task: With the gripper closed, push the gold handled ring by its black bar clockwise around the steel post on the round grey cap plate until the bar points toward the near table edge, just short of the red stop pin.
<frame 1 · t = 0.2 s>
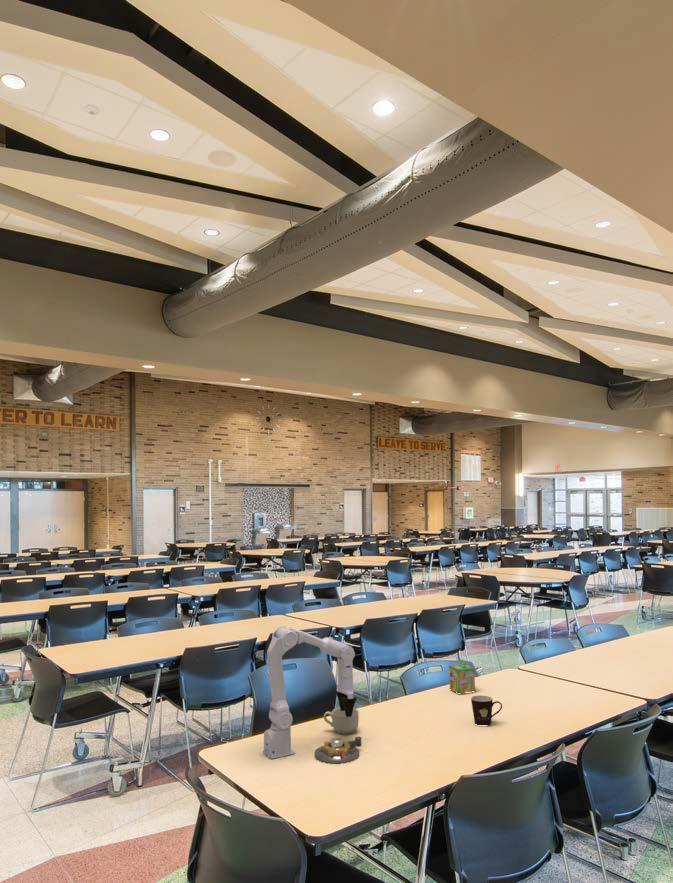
hand: (346, 713, 247), 10 cm above the table, tool pointing down, fingers open, 7 cm apart
teacup: (341, 732, 257), on the table
gold handled ring: (343, 745, 233), point 3 cm above the table, hinge at 0.0°
cap plate: (336, 755, 232), on the table
coffee mug: (486, 725, 261), on the table
green patterned box: (462, 692, 309), on the table
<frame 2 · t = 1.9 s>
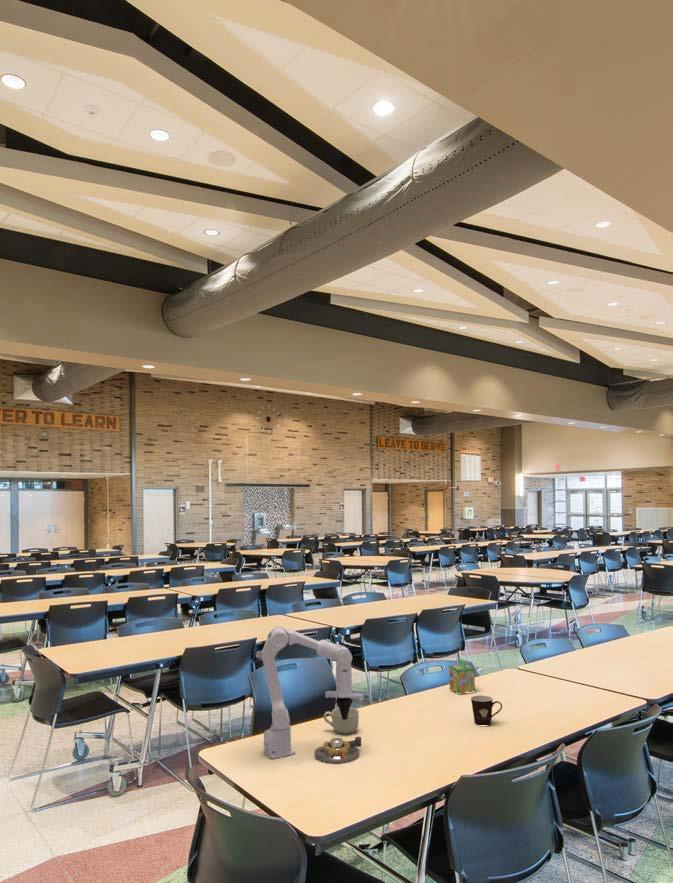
hand: (344, 718, 240), 10 cm above the table, tool pointing down, fingers closed
nothing on the table moved.
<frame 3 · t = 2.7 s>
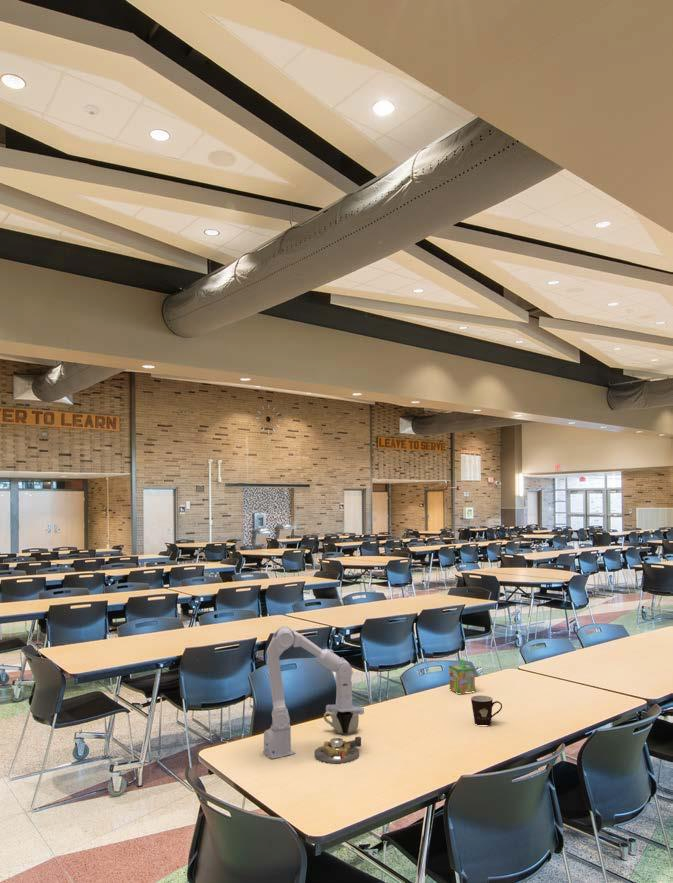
hand: (345, 732, 239), 5 cm above the table, tool pointing down, fingers closed
nothing on the table moved.
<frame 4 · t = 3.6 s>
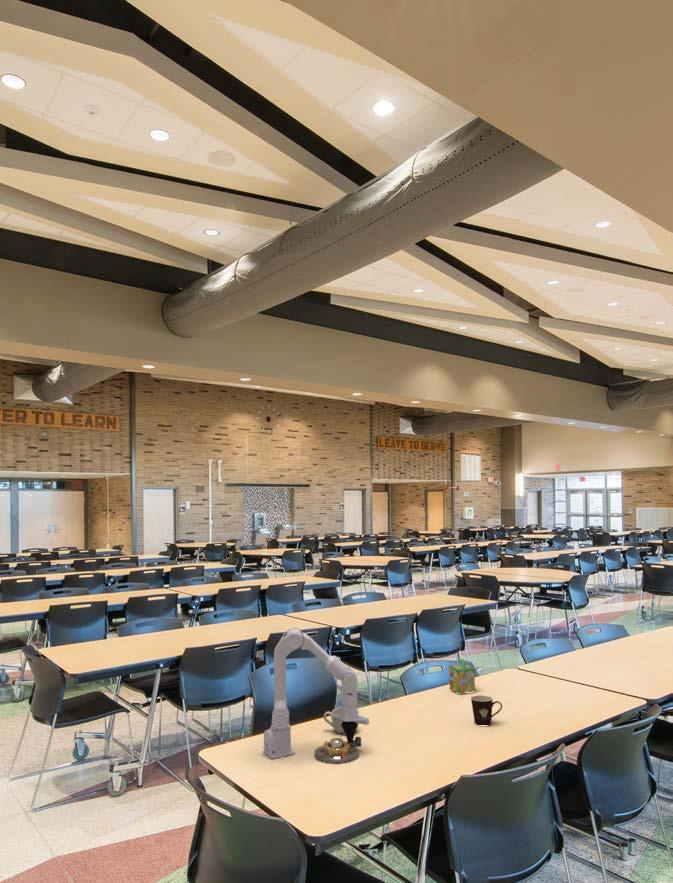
hand: (350, 742, 237), 2 cm above the table, tool pointing down, fingers closed, pressing on gold handled ring
gold handled ring: (343, 745, 233), point 3 cm above the table, hinge at 0.0°, touching gripper
everything else where it was.
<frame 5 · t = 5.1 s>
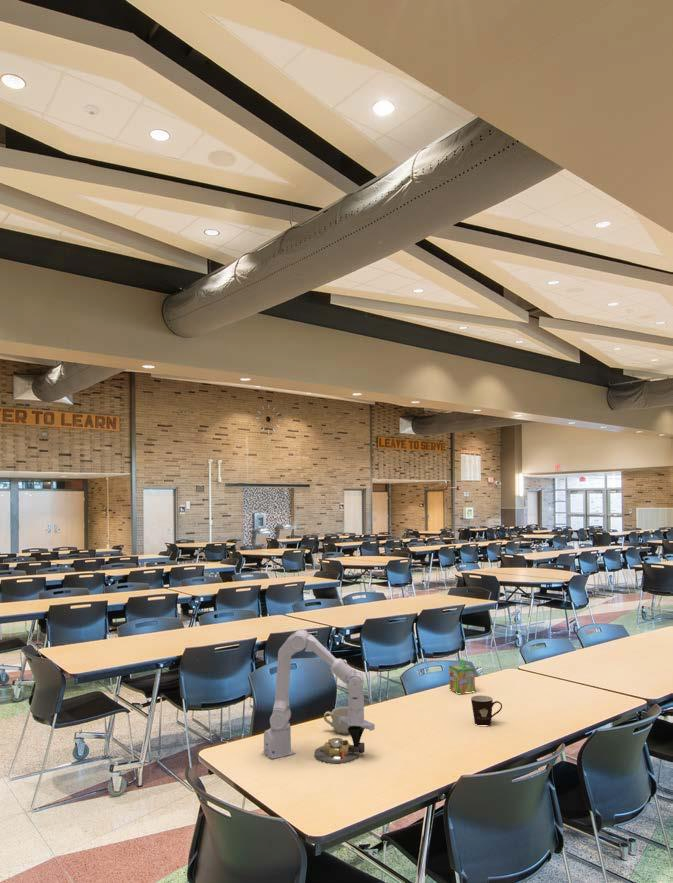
hand: (356, 747, 233), 2 cm above the table, tool pointing down, fingers closed, pressing on gold handled ring
gold handled ring: (344, 747, 232), point 3 cm above the table, hinge at 40.7°, touching gripper
everything else where it was.
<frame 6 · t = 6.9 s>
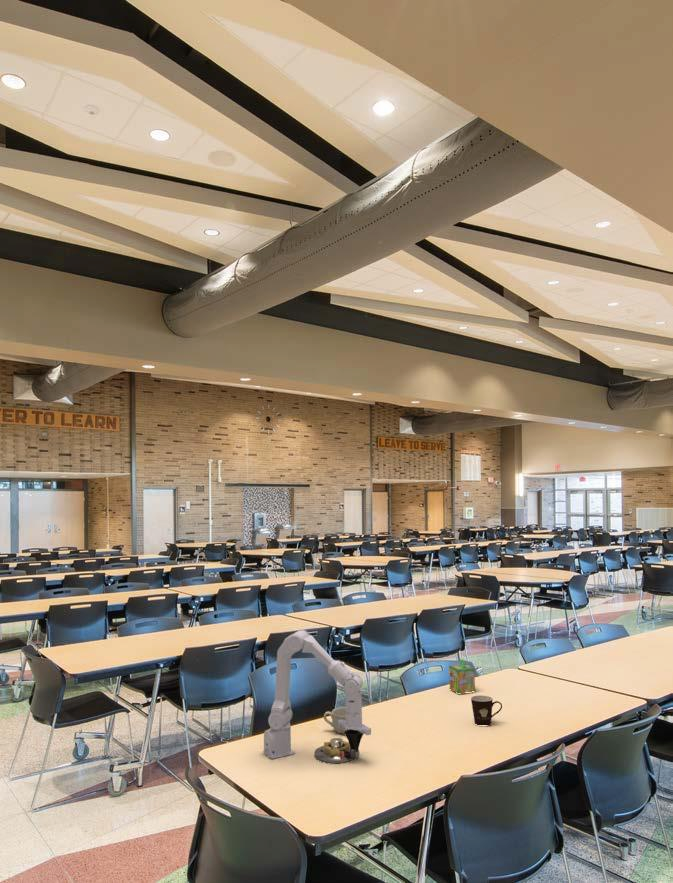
hand: (354, 751, 228), 2 cm above the table, tool pointing down, fingers closed
gold handled ring: (341, 749, 230), point 3 cm above the table, hinge at 80.8°
everything else where it was.
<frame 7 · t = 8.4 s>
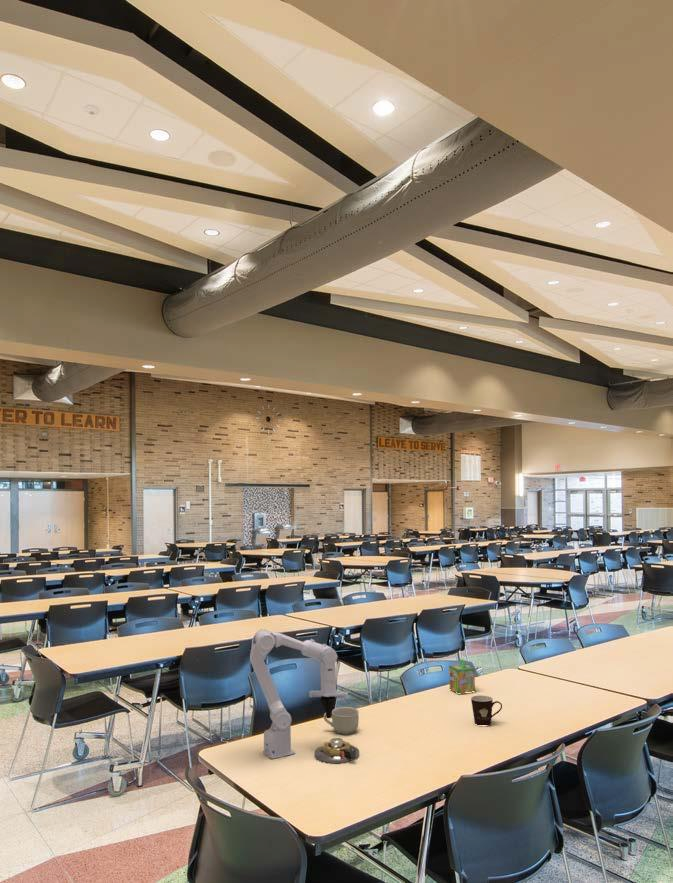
hand: (329, 717, 242), 10 cm above the table, tool pointing down, fingers closed
nothing on the table moved.
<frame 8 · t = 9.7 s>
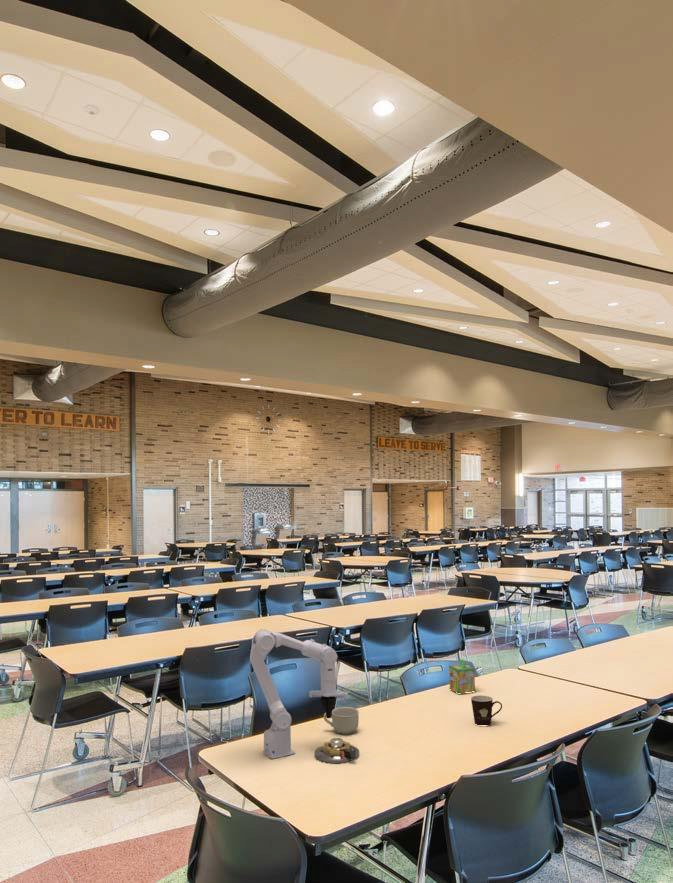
hand: (329, 717, 242), 10 cm above the table, tool pointing down, fingers closed
nothing on the table moved.
at the end: gold handled ring at +81° (first picture: +0°) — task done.
